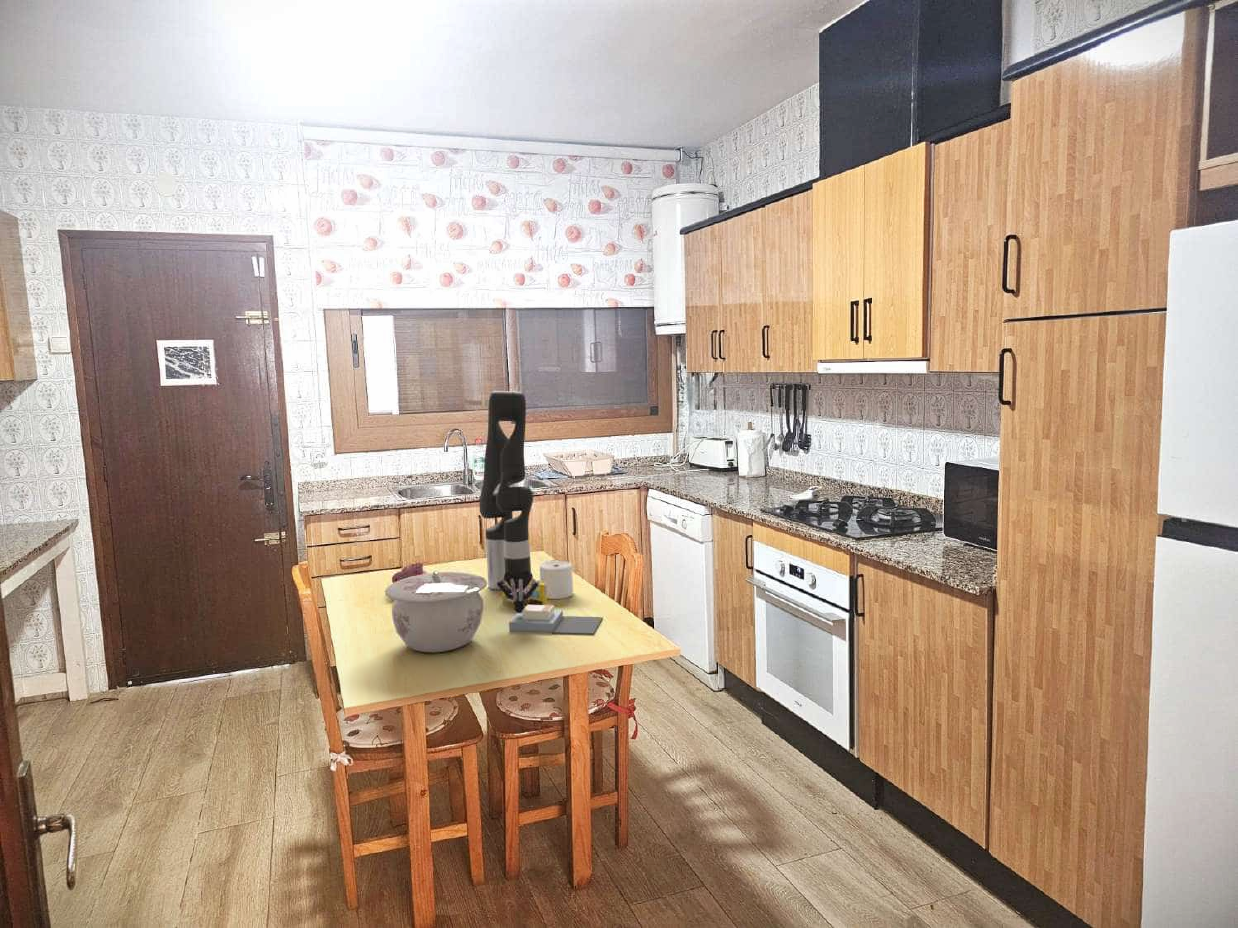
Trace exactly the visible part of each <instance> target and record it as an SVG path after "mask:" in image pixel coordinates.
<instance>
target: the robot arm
mask: <svg viewBox="0 0 1238 928" xmlns="http://www.w3.org/2000/svg"><path fill="white" fill-rule="evenodd" d="M526 415H527V402H526V397H525V394H524V393H523V392H522V391H515V390H509V391H508V390H493V391H492V392H491V393H490V396H489V399H488V415H487V417H488V418H487V421H488V423H487V424H488V425H487V437H486V438H487V439H486V445H485V453H484V454H485V455H484V467H483V480H482V486H481V490H480V491H481V492H480V495H479V496H480V497H479V505H478V506H479V513H480V515H481V517H482V518H484V519H498V518H501V519H500V521H498V522H497V523H496V524H495V525H492V526H490V527H487V529H486V530H485V546H486V566H487V567H486V569H487V587H488V588H489V589H490V590H499V591H500V590H501V592H502V591H503V593H504V594H505V595H506V596H507V598H508V599H510V598H511V599H513V600H514V605H513V606H514V609H513V610H514V612H516V614H517V613H522V610H523V609H524V608H525V599H528V598H529V597H530V596H531V595H532V593H533V592H534V591H535V589H536V588H537V587H538V585H539V584H540V580H536V579H535V577H534V576H533V573H532V567H531V566H532V565H531V563H532V562H531V545H530V541H529V538H530V537H529V535H530V534H529V519H530V514H531V510H532V508H533V507H532V506H533V502H534V493H533V491H532V490H531V488H530V487H529V486H513V485H515V484H519V483H521V482H523V481H524V480H525V478H526V467H525V466H526V464H525V437H526V421H527V420H526V419H527V416H526ZM500 422H514V423H515V425H514V429H513V430H512V433H511V435H510V436H509V438H508V436H507V435H506V433H504V431H503V430H502V429H503V428H502V427H501V425H500ZM497 487H498V490H496V489H497ZM513 512H520V514H519V515H518V516H515V517H513ZM501 579H502V580H501ZM530 581H531V584H530V585H531V589H530V590H529V591H528V593H527V594H525V591H526V587H527V586H528V584H529V583H530ZM506 582H507V583H508V585H509V586H510V587H511V589H512V591H511V590H510V589H509V587H508V586H507V583H506Z"/></svg>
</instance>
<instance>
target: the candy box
mask: <svg viewBox="0 0 1238 928" xmlns="http://www.w3.org/2000/svg"><path fill="white" fill-rule="evenodd" d="M501 580H502V579H501ZM506 583H507V582H506ZM530 584H531V581H530V583H529V584H528V586H527V587H526V591H525V594H527V593H528V591H529V590H530V589H531V585H530ZM507 586H508V587H509V589H510V590H511V591H512V589H511V587H510V586H509V585H508V583H507ZM501 598H502V604H504V605H509V606H510V605H511V606H514V600H513V599H511V598H510V599H508V598H507V596H506V595H505V594H504V593H503V591H502V590H501ZM527 605H548V599H547V592H546V583H540V584H539V585H538V587H537V588H536V589H535V591H534V592H533V593H532V595H531V596H530V597H529V598H528V599H525V607H526V606H527Z"/></svg>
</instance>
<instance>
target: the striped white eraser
mask: <svg viewBox="0 0 1238 928" xmlns="http://www.w3.org/2000/svg"><path fill="white" fill-rule="evenodd" d="M554 610H555V606H554V605H552V604H547V605H527V606H526V607H525V608H524V609H523V610H522V617H523V619H541V620H549V619H550V618H551V617H552V616H553V614H554Z"/></svg>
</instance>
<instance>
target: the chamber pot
mask: <svg viewBox="0 0 1238 928" xmlns="http://www.w3.org/2000/svg"><path fill="white" fill-rule="evenodd" d="M487 586H488V580H486V578H485V577H483V576H481V575H478V574H474V573H469V572H468V573H467V572H460V571H443V572H442V571H437V570H433V572H429V573H427V574H422V575H417V576H412V577H409V578H405V579H402V580H399V581H397V582H395V583H393V582H392V583H391V584H389V585H388V586H387V587H386V588H385V590H384V594H385V596H386V597H388V598H390V599H392V600H394V601H393V603H392V605H391V616H392V621H393V624H394V627H395V632H396V633H397V635H398V636H399V638H400V639H401V641H402V642H403V643H404V644H405V645H406V646H408V648H409V649H411V650H413V651H417V652H421V653H429V654H430V653H431V654H433V653H435V654H437V653H438V654H439V653H446V652H451V651H454V650H456V649H459V648H461V647H464V646H465V645H467V644H469V643H470V642H471V641H472V640H473V638H474V637H475V635H476V633H477V631H478V629H479V628H480V625H481V623H482V620H483V613H484V599H483V597H482V596H481V594H480V593H479V592H481V591H483V590H484V589H485V588H486V587H487Z"/></svg>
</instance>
